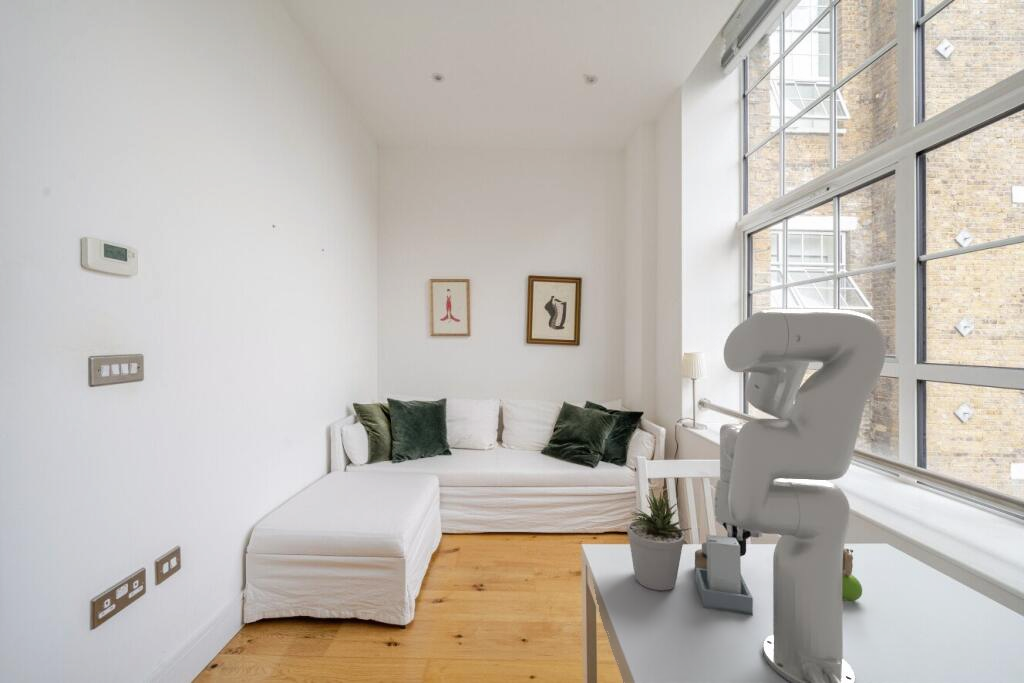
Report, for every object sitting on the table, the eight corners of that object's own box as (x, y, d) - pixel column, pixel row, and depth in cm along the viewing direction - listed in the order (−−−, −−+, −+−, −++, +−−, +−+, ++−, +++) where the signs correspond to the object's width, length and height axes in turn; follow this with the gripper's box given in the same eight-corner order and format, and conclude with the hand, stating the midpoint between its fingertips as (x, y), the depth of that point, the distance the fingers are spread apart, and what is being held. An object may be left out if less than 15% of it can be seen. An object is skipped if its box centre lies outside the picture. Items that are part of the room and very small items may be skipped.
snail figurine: (833, 604, 87) (833, 546, 87) (827, 588, 93) (827, 534, 93) (867, 612, 84) (866, 552, 85) (858, 595, 90) (858, 540, 90)
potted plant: (699, 597, 89) (699, 504, 89) (635, 596, 89) (635, 502, 89) (677, 566, 101) (677, 484, 102) (620, 565, 102) (621, 483, 102)
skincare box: (736, 593, 90) (736, 536, 90) (741, 605, 85) (741, 546, 85) (705, 588, 91) (705, 532, 92) (709, 599, 87) (709, 541, 87)
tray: (752, 615, 83) (752, 597, 83) (702, 607, 85) (702, 590, 85) (740, 589, 92) (740, 573, 92) (695, 583, 94) (695, 567, 94)
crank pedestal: (736, 585, 93) (736, 568, 93) (697, 580, 95) (697, 562, 96) (727, 566, 102) (727, 550, 102) (692, 561, 104) (692, 545, 104)
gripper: (779, 483, 94) (780, 565, 94) (718, 467, 107) (719, 539, 107) (759, 487, 91) (760, 573, 90) (699, 470, 104) (700, 545, 103)
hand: (738, 554), depth 98 cm, fingers closed
